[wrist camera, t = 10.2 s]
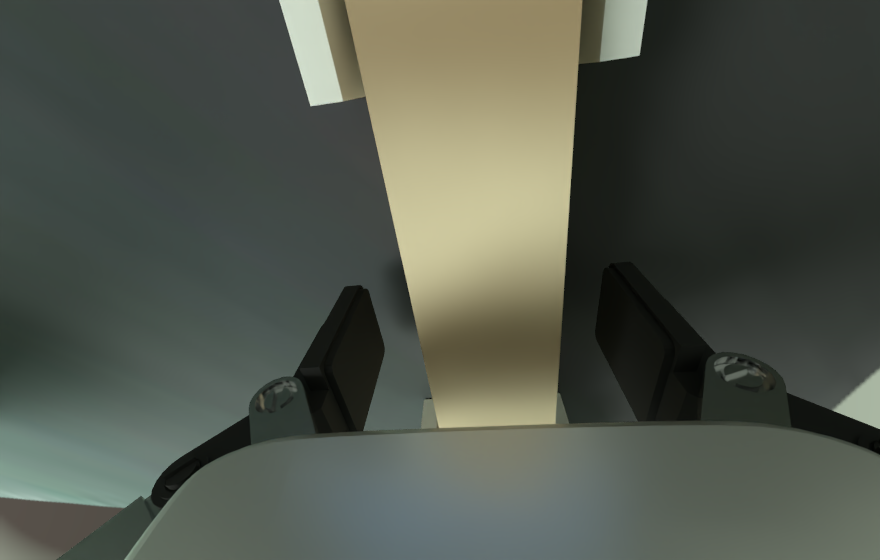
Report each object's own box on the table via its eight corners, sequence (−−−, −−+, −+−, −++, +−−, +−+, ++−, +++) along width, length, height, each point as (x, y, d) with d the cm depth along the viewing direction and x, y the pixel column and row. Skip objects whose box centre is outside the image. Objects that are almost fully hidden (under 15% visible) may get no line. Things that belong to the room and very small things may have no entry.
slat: (369, -109, 8) (280, -293, 4) (529, -146, 7) (607, -395, 3) (460, 430, 18) (460, 527, 14) (529, 427, 17) (548, 526, 14)
